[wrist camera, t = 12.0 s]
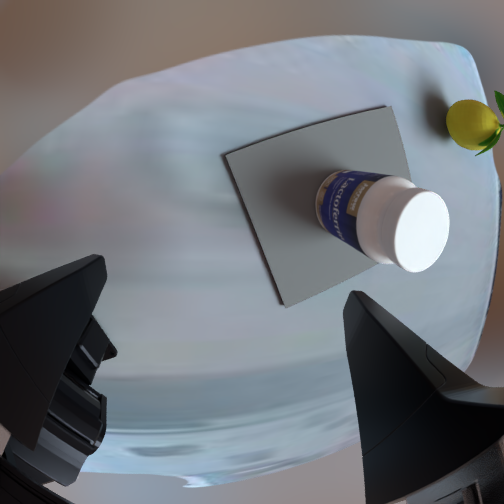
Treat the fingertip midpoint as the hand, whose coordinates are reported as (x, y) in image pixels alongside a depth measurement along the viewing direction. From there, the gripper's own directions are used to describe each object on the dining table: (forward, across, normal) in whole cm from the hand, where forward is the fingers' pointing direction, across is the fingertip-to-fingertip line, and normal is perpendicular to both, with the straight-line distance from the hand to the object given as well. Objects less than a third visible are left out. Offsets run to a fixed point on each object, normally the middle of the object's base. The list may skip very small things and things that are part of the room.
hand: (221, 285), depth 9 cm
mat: (+15, -8, 0) cm, 17 cm away
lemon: (+20, -21, -11) cm, 31 cm away
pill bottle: (+14, -8, 0) cm, 16 cm away
